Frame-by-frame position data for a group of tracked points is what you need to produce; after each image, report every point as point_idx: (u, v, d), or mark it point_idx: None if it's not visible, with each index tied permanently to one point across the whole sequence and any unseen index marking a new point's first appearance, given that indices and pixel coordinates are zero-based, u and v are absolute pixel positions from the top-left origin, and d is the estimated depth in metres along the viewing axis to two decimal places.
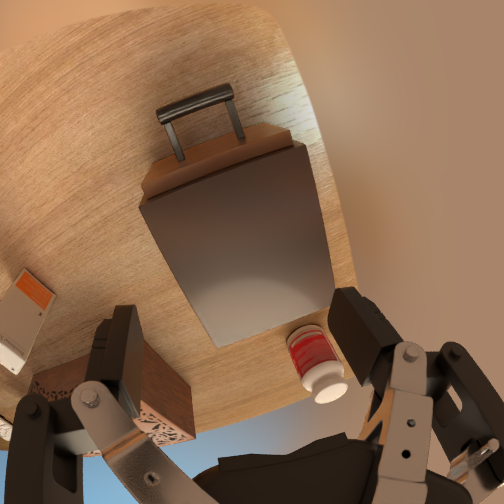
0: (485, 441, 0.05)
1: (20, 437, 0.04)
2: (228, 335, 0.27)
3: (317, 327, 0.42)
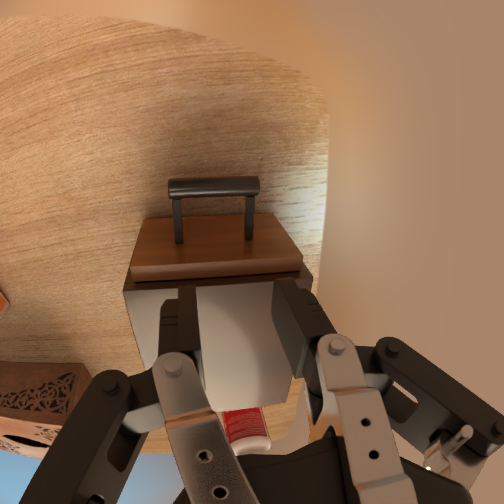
0: (455, 428, 0.06)
1: (86, 408, 0.06)
2: None
3: None
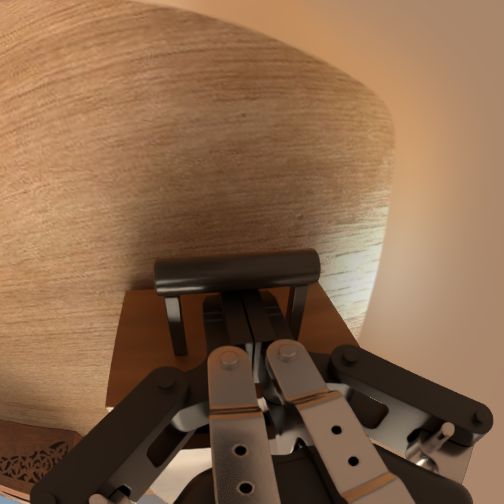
0: (434, 427, 0.06)
1: (137, 401, 0.06)
2: None
3: None
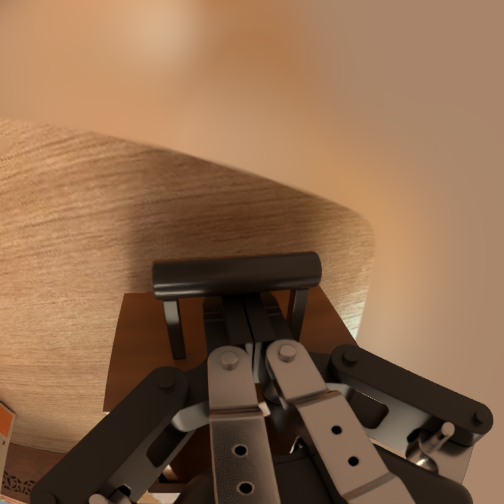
0: (434, 427, 0.06)
1: (136, 401, 0.06)
2: None
3: None
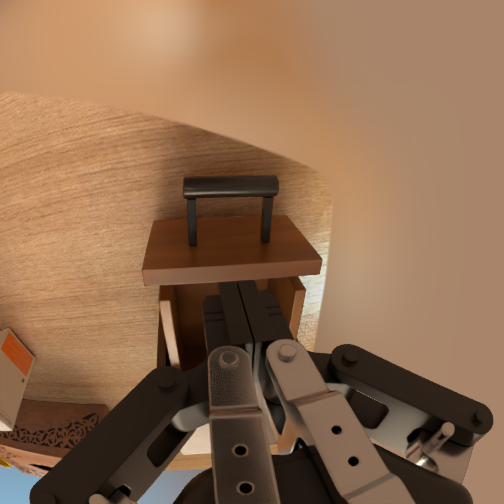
0: (434, 427, 0.06)
1: (137, 401, 0.06)
2: (194, 450, 0.27)
3: None
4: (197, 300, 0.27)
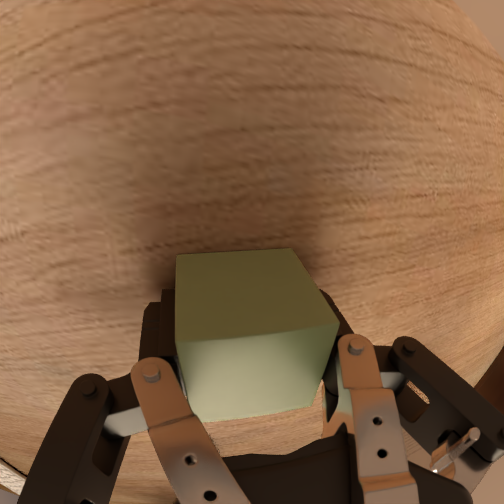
0: (463, 430, 0.05)
1: (68, 413, 0.05)
2: None
3: None
4: None
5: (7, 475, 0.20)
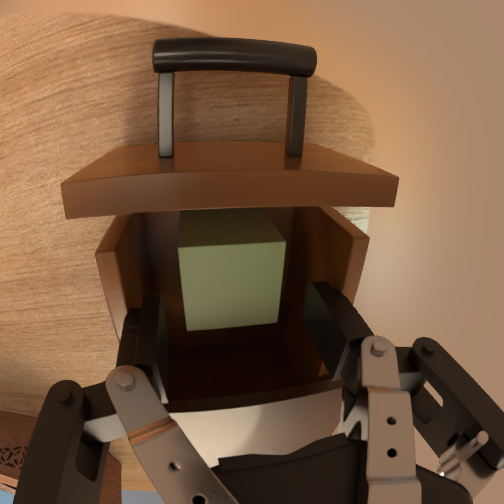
0: (473, 434, 0.05)
1: (47, 422, 0.05)
2: None
3: None
4: None
5: None
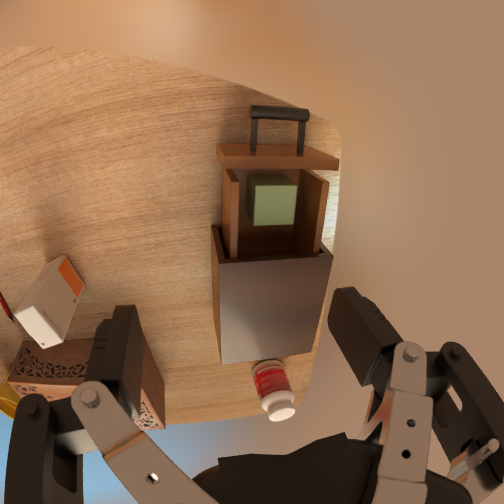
0: (485, 441, 0.05)
1: (20, 437, 0.04)
2: (233, 357, 0.36)
3: (280, 363, 0.53)
4: (244, 208, 0.35)
5: None
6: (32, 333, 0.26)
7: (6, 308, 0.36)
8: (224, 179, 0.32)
